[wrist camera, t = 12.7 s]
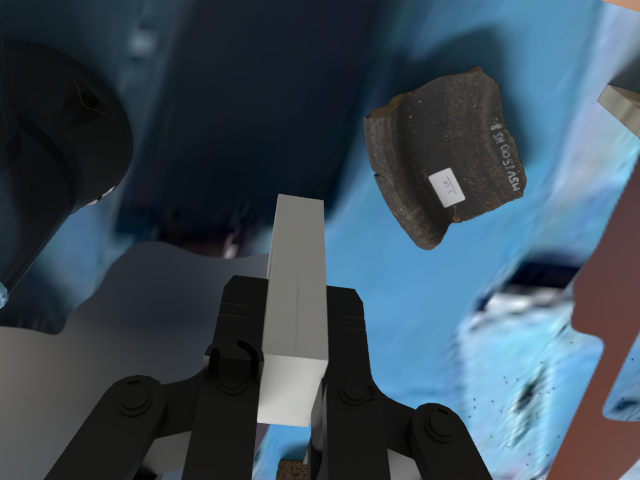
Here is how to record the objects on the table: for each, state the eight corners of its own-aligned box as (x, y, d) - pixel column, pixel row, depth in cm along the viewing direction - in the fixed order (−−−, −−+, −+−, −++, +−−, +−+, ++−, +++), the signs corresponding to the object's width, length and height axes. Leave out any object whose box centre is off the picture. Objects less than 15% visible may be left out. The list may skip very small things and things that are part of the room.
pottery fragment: (529, 191, 45) (540, 220, 42) (408, 228, 49) (409, 257, 46) (486, 45, 37) (495, 66, 34) (346, 105, 41) (342, 129, 38)
